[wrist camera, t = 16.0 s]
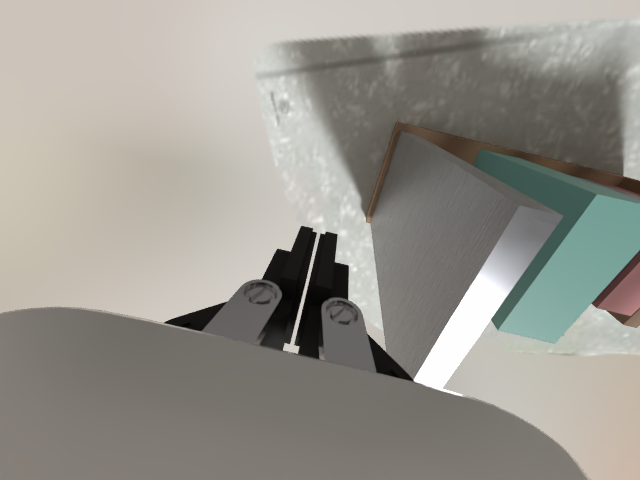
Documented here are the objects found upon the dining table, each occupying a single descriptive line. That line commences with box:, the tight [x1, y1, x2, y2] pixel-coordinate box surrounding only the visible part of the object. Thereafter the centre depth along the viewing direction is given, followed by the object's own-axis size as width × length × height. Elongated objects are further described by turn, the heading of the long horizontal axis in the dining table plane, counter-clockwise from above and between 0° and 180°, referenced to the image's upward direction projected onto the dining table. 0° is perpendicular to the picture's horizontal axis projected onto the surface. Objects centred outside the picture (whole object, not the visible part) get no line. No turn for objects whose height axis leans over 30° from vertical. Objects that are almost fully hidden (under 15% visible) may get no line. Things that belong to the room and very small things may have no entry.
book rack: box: [366, 122, 640, 328], centre depth 26 cm, size 24×11×10 cm, turn 78°
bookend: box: [370, 129, 563, 389], centre depth 19 cm, size 1×10×22 cm, turn 168°
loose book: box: [473, 149, 640, 344], centre depth 22 cm, size 4×10×14 cm, turn 169°
